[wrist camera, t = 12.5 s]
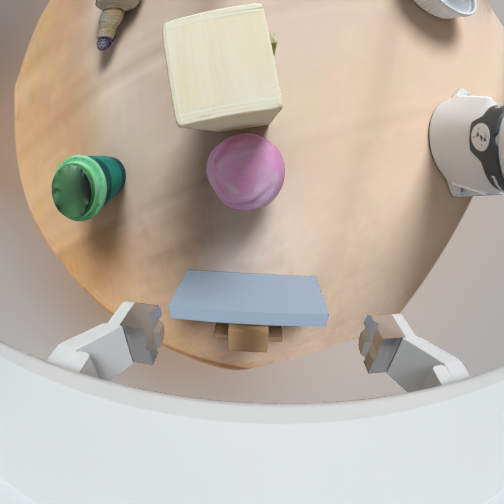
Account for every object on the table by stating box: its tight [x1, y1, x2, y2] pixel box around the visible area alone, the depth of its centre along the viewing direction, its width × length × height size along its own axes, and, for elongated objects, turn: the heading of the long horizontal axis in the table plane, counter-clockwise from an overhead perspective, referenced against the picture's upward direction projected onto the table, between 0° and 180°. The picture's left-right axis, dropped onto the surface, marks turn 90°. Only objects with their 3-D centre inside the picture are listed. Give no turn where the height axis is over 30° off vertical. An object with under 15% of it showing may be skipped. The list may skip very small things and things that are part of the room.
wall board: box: [169, 270, 329, 342], centre depth 39 cm, size 20×8×10 cm, turn 88°
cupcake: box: [206, 133, 285, 210], centre depth 31 cm, size 9×9×10 cm
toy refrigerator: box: [162, 4, 282, 132], centre depth 23 cm, size 8×7×21 cm
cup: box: [52, 155, 126, 221], centre depth 31 cm, size 8×8×12 cm
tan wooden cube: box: [228, 323, 269, 352], centre depth 37 cm, size 5×4×7 cm
